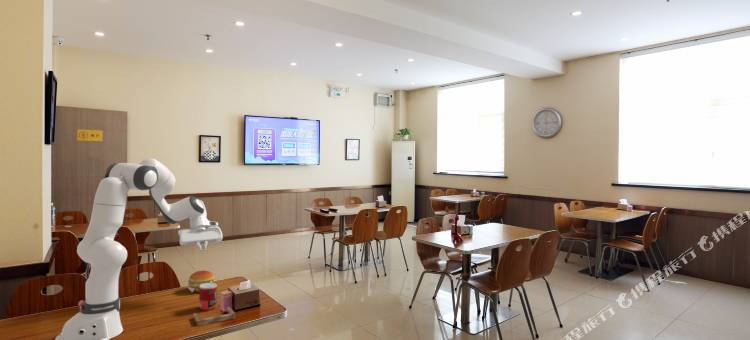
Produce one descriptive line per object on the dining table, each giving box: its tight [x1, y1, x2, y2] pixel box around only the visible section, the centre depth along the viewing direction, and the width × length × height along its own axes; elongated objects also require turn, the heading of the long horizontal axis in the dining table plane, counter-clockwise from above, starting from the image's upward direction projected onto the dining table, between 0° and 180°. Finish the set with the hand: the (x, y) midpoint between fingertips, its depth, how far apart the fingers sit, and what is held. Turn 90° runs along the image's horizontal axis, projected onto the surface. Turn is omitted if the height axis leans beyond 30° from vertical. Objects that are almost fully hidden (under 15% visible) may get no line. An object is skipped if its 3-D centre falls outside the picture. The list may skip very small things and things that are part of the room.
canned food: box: [198, 282, 218, 312], centre depth 196 cm, size 8×8×11 cm
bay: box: [192, 306, 236, 327], centre depth 184 cm, size 16×10×2 cm, turn 123°
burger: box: [187, 270, 216, 293], centre depth 220 cm, size 13×14×10 cm
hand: (203, 250), depth 205 cm, fingers closed
